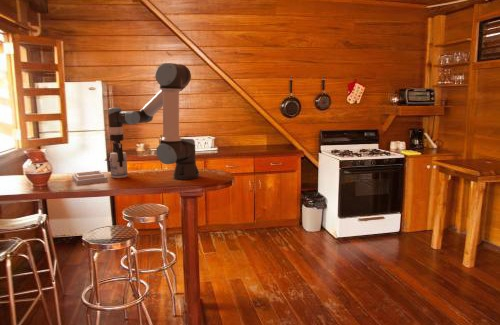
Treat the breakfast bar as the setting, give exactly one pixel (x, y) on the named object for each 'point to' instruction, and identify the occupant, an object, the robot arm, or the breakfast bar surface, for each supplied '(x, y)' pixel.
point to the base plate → (89, 177)
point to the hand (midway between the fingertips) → (119, 171)
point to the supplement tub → (114, 165)
